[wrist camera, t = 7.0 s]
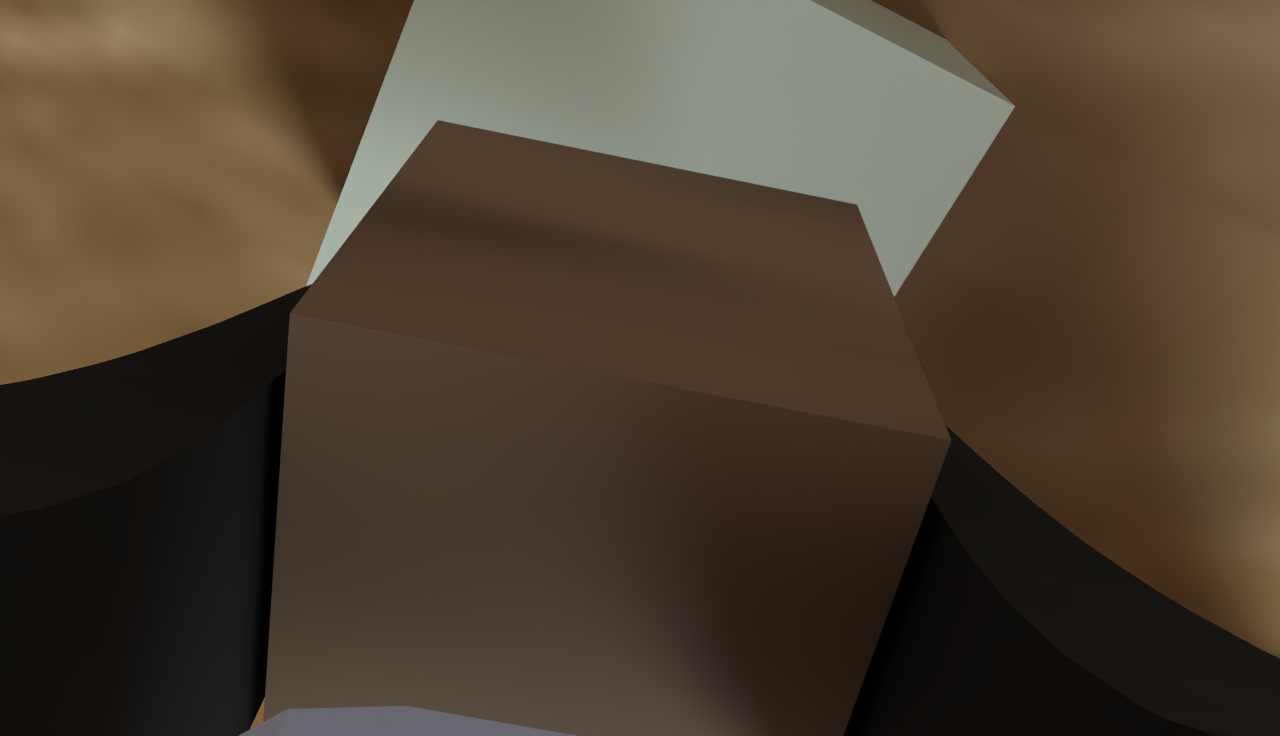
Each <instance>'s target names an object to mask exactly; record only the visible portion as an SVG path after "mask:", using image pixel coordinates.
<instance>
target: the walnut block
mask: <svg viewBox="0 0 1280 736" xmlns="http://www.w3.org/2000/svg"><path fill="white" fill-rule="evenodd" d="M950 443H951V438H950V435H949V433H948V430H947V428H946V425H945V423H944V420H943V418H942V415H941V413H940V410H939V408H938V405H937V403H936V400H935V398H934V395H933V393H932V390H931V388H930V385H929V383H928V381H927V378H926V376H925V373H924V371H923V368H922V366H921V363H920V361H919V358H918V356H917V353H916V351H915V348H914V346H913V343H912V341H911V338H910V336H909V333H908V331H907V328H906V326H905V323H904V321H903V318H902V316H901V313H900V311H899V308H898V306H897V303H896V301H895V298H894V296H893V293H892V291H891V288H890V286H889V283H888V281H887V278H886V276H885V273H884V271H883V268H882V266H881V263H880V261H879V258H878V256H877V253H876V251H875V248H874V246H873V243H872V241H871V238H870V236H869V233H868V231H867V228H866V226H865V223H864V221H863V218H862V216H861V213H860V211H859V208H858V206H857V204H852V203H847V202H842V201H837V200H832V199H827V198H822V197H817V196H812V195H807V194H802V193H797V192H792V191H787V190H782V189H778V188H773V187H768V186H763V185H758V184H753V183H748V182H743V181H738V180H733V179H728V178H723V177H718V176H713V175H708V174H703V173H698V172H693V171H688V170H683V169H678V168H673V167H668V166H663V165H658V164H653V163H649V162H644V161H639V160H634V159H629V158H624V157H619V156H614V155H609V154H604V153H599V152H594V151H589V150H584V149H579V148H574V147H569V146H564V145H559V144H554V143H549V142H544V141H539V140H534V139H529V138H524V137H520V136H515V135H510V134H505V133H500V132H495V131H490V130H485V129H480V128H475V127H470V126H465V125H460V124H455V123H450V122H445V121H440V120H437V122H436V123H435V124H434V126H433V127H432V128H431V129H430V131H429V132H428V133H427V135H426V136H425V137H424V139H423V140H422V141H421V143H420V144H419V145H418V146H417V148H416V149H415V150H414V152H413V153H412V154H411V156H410V157H409V158H408V160H407V161H406V162H405V163H404V165H403V166H402V167H401V169H400V170H399V171H398V173H397V174H396V175H395V177H394V178H393V179H392V180H391V182H390V183H389V184H388V186H387V187H386V188H385V190H384V191H383V192H382V194H381V195H380V196H379V197H378V199H377V200H376V201H375V203H374V204H373V205H372V207H371V208H370V209H369V211H368V212H367V213H366V214H365V216H364V217H363V218H362V220H361V221H360V222H359V224H358V225H357V226H356V228H355V229H354V230H353V231H352V233H351V234H350V235H349V237H348V238H347V239H346V241H345V242H344V243H343V245H342V246H341V247H340V248H339V250H338V251H337V252H336V254H335V255H334V256H333V258H332V259H331V260H330V262H329V263H328V264H327V265H326V267H325V268H324V269H323V271H322V272H321V273H320V275H319V276H318V277H317V279H316V280H315V281H314V282H313V284H312V285H311V286H310V288H309V289H308V290H307V292H306V293H305V294H304V295H303V297H302V298H301V299H300V301H299V302H298V303H297V305H296V306H295V307H294V309H293V310H292V311H291V312H290V318H289V334H288V349H287V365H286V380H285V396H284V411H283V427H282V442H281V458H280V473H279V489H278V504H277V520H276V535H275V551H274V567H273V582H272V598H271V613H270V629H269V644H268V660H267V675H266V691H265V706H264V722H265V721H267V720H268V719H270V718H272V717H274V716H276V715H278V714H279V713H281V712H283V711H285V710H287V709H304V708H343V707H382V706H410V707H416V708H421V709H427V710H433V711H438V712H444V713H450V714H456V715H461V716H467V717H473V718H478V719H484V720H490V721H496V722H501V723H507V724H513V725H518V726H524V727H530V728H536V729H541V730H547V731H553V732H558V733H564V734H570V735H575V736H843V735H844V732H845V730H846V727H847V724H848V721H849V719H850V716H851V713H852V710H853V708H854V705H855V702H856V700H857V697H858V694H859V691H860V689H861V686H862V683H863V680H864V678H865V675H866V672H867V670H868V667H869V664H870V661H871V659H872V656H873V653H874V650H875V648H876V645H877V642H878V639H879V637H880V634H881V631H882V629H883V626H884V623H885V620H886V618H887V615H888V612H889V609H890V607H891V604H892V601H893V599H894V596H895V593H896V590H897V588H898V585H899V582H900V579H901V577H902V574H903V571H904V568H905V566H906V563H907V560H908V558H909V555H910V552H911V549H912V547H913V544H914V541H915V538H916V536H917V533H918V530H919V527H920V525H921V522H922V519H923V517H924V514H925V511H926V508H927V506H928V503H929V500H930V497H931V495H932V492H933V489H934V487H935V484H936V481H937V478H938V476H939V473H940V470H941V467H942V465H943V462H944V459H945V456H946V454H947V451H948V448H949V446H950Z"/></svg>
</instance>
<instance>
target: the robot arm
mask: <svg viewBox="0 0 1280 736" xmlns="http://www.w3.org/2000/svg"><path fill="white" fill-rule="evenodd" d="M311 285H312V284H311ZM311 285H308V286H306V287H303V288H301V289H298V290H296V291H294V292H291V293H289V294H287V295H284V296H282V297H280V298H277V299H275V300H273V301H270V302H268V303H265V304H263V305H261V306H258V307H256V308H253V309H251V310H249V311H246V312H244V313H241V314H239V315H237V316H234V317H232V318H229V319H227V320H225V321H222V322H220V323H217V324H215V325H212V326H209V327H206V328H204V329H201V330H198V331H195V332H192V333H190V334H187V335H184V336H181V337H178V338H176V339H173V340H170V341H167V342H164V343H162V344H159V345H156V346H153V347H150V348H147V349H145V350H142V351H139V352H136V353H133V354H129V355H126V356H123V357H119V358H116V359H112V360H109V361H105V362H102V363H98V364H95V365H91V366H87V367H83V368H78V369H74V370H70V371H66V372H62V373H58V374H54V375H50V376H45V377H41V378H36V379H31V380H27V381H22V382H16V383H10V384H4V385H0V736H575V735H570V734H564V733H558V732H553V731H547V730H541V729H536V728H530V727H524V726H518V725H513V724H507V723H501V722H496V721H490V720H484V719H478V718H473V717H467V716H461V715H456V714H450V713H444V712H438V711H433V710H427V709H421V708H416V707H410V706H382V707H343V708H304V709H287V710H285V711H283V712H281V713H279V714H278V715H276V716H274V717H272V718H270V719H268V720H267V721H265V722H263V723H261V724H259V725H257V726H256V727H254V728H252V729H250V727H251V725H252V723H253V721H254V719H255V717H256V714H257V712H258V710H259V708H260V706H261V704H262V702H263V700H264V698H265V691H266V675H267V660H268V644H269V629H270V613H271V598H272V582H273V567H274V551H275V535H276V520H277V504H278V489H279V473H280V458H281V442H282V427H283V411H284V396H285V380H286V365H287V349H288V334H289V318H290V312H291V311H292V310H293V309H294V307H295V306H296V305H297V303H298V302H299V301H300V299H301V298H302V297H303V295H304V294H305V293H306V292H307V290H308V289H309V288H310V286H311ZM946 428H947V430H948V433H949V435H950V438H951V443H950V446H949V448H948V451H947V454H946V456H945V459H944V462H943V465H942V467H941V470H940V473H939V476H938V478H937V481H936V484H935V487H934V489H933V492H932V495H931V497H930V500H929V503H928V506H927V508H926V511H925V514H924V517H923V519H922V522H921V525H920V527H919V530H918V533H917V536H916V538H915V541H914V544H913V547H912V549H911V552H910V555H909V558H908V560H907V563H906V566H905V568H904V571H903V574H902V577H901V579H900V582H899V585H898V588H897V590H896V593H895V596H894V599H893V601H892V604H891V607H890V609H889V612H888V615H887V618H886V620H885V623H884V626H883V629H882V631H881V634H880V637H879V639H878V642H877V645H876V648H875V650H874V653H873V656H872V659H871V661H870V664H869V667H868V670H867V672H866V675H865V678H864V680H863V683H862V686H861V689H860V691H859V694H858V697H857V700H856V702H855V705H854V708H853V710H852V713H851V716H850V719H849V721H848V724H847V727H846V730H845V732H844V735H843V736H1280V659H1279V658H1277V657H1275V656H1273V655H1271V654H1269V653H1267V652H1265V651H1263V650H1261V649H1259V648H1257V647H1255V646H1253V645H1251V644H1249V643H1248V642H1246V641H1244V640H1242V639H1240V638H1239V637H1237V636H1235V635H1233V634H1231V633H1229V632H1228V631H1226V630H1224V629H1222V628H1220V627H1219V626H1217V625H1215V624H1213V623H1211V622H1209V621H1208V620H1206V619H1204V618H1202V617H1200V616H1198V615H1197V614H1195V613H1193V612H1191V611H1190V610H1188V609H1186V608H1184V607H1183V606H1181V605H1179V604H1178V603H1176V602H1174V601H1173V600H1171V599H1169V598H1168V597H1166V596H1164V595H1163V594H1161V593H1159V592H1158V591H1156V590H1155V589H1153V588H1152V587H1150V586H1149V585H1147V584H1146V583H1144V582H1143V581H1141V580H1139V579H1138V578H1136V577H1135V576H1133V575H1132V574H1130V573H1129V572H1127V571H1126V570H1124V569H1123V568H1121V567H1120V566H1118V565H1117V564H1115V563H1114V562H1112V561H1111V560H1109V559H1108V558H1106V557H1105V556H1103V555H1102V554H1100V553H1099V552H1097V551H1096V550H1095V549H1093V548H1092V547H1091V546H1089V545H1088V544H1086V543H1085V542H1084V541H1082V540H1081V539H1079V538H1078V537H1077V536H1075V535H1074V534H1073V533H1071V532H1070V531H1069V530H1068V529H1066V528H1065V527H1064V526H1063V525H1061V524H1060V523H1059V522H1057V521H1056V520H1055V519H1054V518H1052V517H1051V516H1050V515H1049V514H1047V513H1046V512H1045V511H1043V510H1042V509H1041V508H1040V507H1038V506H1037V505H1036V504H1035V503H1033V502H1032V501H1031V500H1030V499H1028V498H1027V497H1026V496H1025V495H1024V494H1023V493H1021V492H1020V491H1019V490H1018V489H1017V488H1015V487H1014V486H1013V485H1012V484H1011V483H1009V482H1008V481H1007V480H1006V479H1005V478H1004V477H1002V476H1001V475H1000V474H999V473H998V472H997V471H996V470H994V469H993V468H992V467H991V466H990V465H989V464H988V463H987V462H985V461H984V460H983V459H982V458H981V457H980V456H979V455H978V454H976V453H975V452H974V451H973V450H972V449H971V448H970V447H969V446H968V445H967V444H965V443H964V442H963V441H962V440H961V439H960V438H959V437H958V436H957V435H956V434H954V433H953V432H952V431H951V430H950V429H949V428H948V427H947V426H946ZM249 729H250V730H249Z"/></svg>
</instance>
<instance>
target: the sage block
mask: <svg viewBox="0 0 1280 736" xmlns="http://www.w3.org/2000/svg"><path fill="white" fill-rule="evenodd" d="M1014 107H1015V106H1014V105H1013V104H1012V103H1011V102H1010V101H1009V100H1008V99H1007V98H1006V97H1005V96H1004V95H1003V94H1002V93H1001V92H1000V91H999V90H998V89H997V88H996V87H995V86H994V85H993V84H992V83H991V82H990V81H989V80H988V79H986V78H985V77H984V76H983V75H982V74H981V73H980V72H979V71H978V70H977V69H976V68H975V67H974V66H973V65H972V64H971V63H970V62H969V61H968V60H967V59H966V58H965V57H964V56H963V55H962V54H961V53H960V52H959V51H958V50H957V49H955V48H954V47H953V46H952V45H951V44H950V43H949V42H948V41H947V40H946V39H944V38H942V37H941V36H939V35H937V34H935V33H933V32H931V31H929V30H927V29H925V28H923V27H921V26H920V25H918V24H916V23H914V22H912V21H910V20H908V19H906V18H904V17H902V16H900V15H898V14H897V13H895V12H893V11H891V10H889V9H887V8H885V7H883V6H881V5H879V4H877V3H875V2H874V1H872V0H414V2H413V5H412V7H411V10H410V12H409V15H408V18H407V20H406V23H405V26H404V28H403V31H402V34H401V36H400V39H399V42H398V44H397V47H396V50H395V52H394V55H393V58H392V60H391V63H390V65H389V68H388V71H387V73H386V76H385V79H384V81H383V84H382V87H381V89H380V92H379V95H378V97H377V100H376V103H375V105H374V108H373V111H372V113H371V116H370V118H369V121H368V124H367V126H366V129H365V132H364V134H363V137H362V140H361V142H360V145H359V148H358V150H357V153H356V156H355V158H354V161H353V164H352V166H351V169H350V171H349V174H348V177H347V179H346V182H345V185H344V187H343V190H342V193H341V195H340V198H339V201H338V203H337V206H336V209H335V211H334V214H333V217H332V219H331V222H330V224H329V227H328V230H327V232H326V235H325V238H324V240H323V243H322V246H321V248H320V251H319V254H318V256H317V259H316V262H315V264H314V267H313V270H312V272H311V275H310V277H309V280H308V283H307V285H306V286H308V285H311V284H313V282H314V281H315V280H316V279H317V277H318V276H319V275H320V273H321V272H322V271H323V269H324V268H325V267H326V265H327V264H328V263H329V262H330V260H331V259H332V258H333V256H334V255H335V254H336V252H337V251H338V250H339V248H340V247H341V246H342V245H343V243H344V242H345V241H346V239H347V238H348V237H349V235H350V234H351V233H352V231H353V230H354V229H355V228H356V226H357V225H358V224H359V222H360V221H361V220H362V218H363V217H364V216H365V214H366V213H367V212H368V211H369V209H370V208H371V207H372V205H373V204H374V203H375V201H376V200H377V199H378V197H379V196H380V195H381V194H382V192H383V191H384V190H385V188H386V187H387V186H388V184H389V183H390V182H391V180H392V179H393V178H394V177H395V175H396V174H397V173H398V171H399V170H400V169H401V167H402V166H403V165H404V163H405V162H406V161H407V160H408V158H409V157H410V156H411V154H412V153H413V152H414V150H415V149H416V148H417V146H418V145H419V144H420V143H421V141H422V140H423V139H424V137H425V136H426V135H427V133H428V132H429V131H430V129H431V128H432V127H433V126H434V124H435V123H436V122H437V120H440V121H445V122H450V123H455V124H460V125H465V126H470V127H475V128H480V129H485V130H490V131H495V132H500V133H505V134H510V135H515V136H520V137H524V138H529V139H534V140H539V141H544V142H549V143H554V144H559V145H564V146H569V147H574V148H579V149H584V150H589V151H594V152H599V153H604V154H609V155H614V156H619V157H624V158H629V159H634V160H639V161H644V162H649V163H653V164H658V165H663V166H668V167H673V168H678V169H683V170H688V171H693V172H698V173H703V174H708V175H713V176H718V177H723V178H728V179H733V180H738V181H743V182H748V183H753V184H758V185H763V186H768V187H773V188H778V189H782V190H787V191H792V192H797V193H802V194H807V195H812V196H817V197H822V198H827V199H832V200H837V201H842V202H847V203H852V204H857V206H858V208H859V211H860V213H861V216H862V218H863V221H864V223H865V226H866V228H867V231H868V233H869V236H870V238H871V241H872V243H873V246H874V248H875V251H876V253H877V256H878V258H879V261H880V263H881V266H882V268H883V271H884V273H885V276H886V278H887V281H888V283H889V286H890V288H891V291H892V293H893V296H894V297H895V295H896V293H897V292H898V290H899V289H900V287H901V286H902V284H903V282H904V281H905V279H906V278H907V276H908V275H909V273H910V271H911V270H912V268H913V267H914V265H915V264H916V262H917V260H918V259H919V257H920V256H921V254H922V252H923V251H924V249H925V248H926V246H927V245H928V243H929V241H930V240H931V238H932V237H933V235H934V234H935V232H936V230H937V229H938V227H939V226H940V224H941V223H942V221H943V219H944V218H945V216H946V215H947V213H948V211H949V210H950V208H951V207H952V205H953V204H954V202H955V200H956V199H957V197H958V196H959V194H960V193H961V191H962V189H963V188H964V186H965V185H966V183H967V182H968V180H969V178H970V177H971V175H972V174H973V172H974V170H975V169H976V167H977V166H978V164H979V163H980V161H981V159H982V158H983V156H984V155H985V153H986V152H987V150H988V148H989V147H990V145H991V144H992V142H993V141H994V139H995V137H996V136H997V134H998V133H999V131H1000V129H1001V128H1002V126H1003V125H1004V123H1005V122H1006V120H1007V118H1008V117H1009V115H1010V114H1011V112H1012V111H1013V109H1014Z"/></svg>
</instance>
